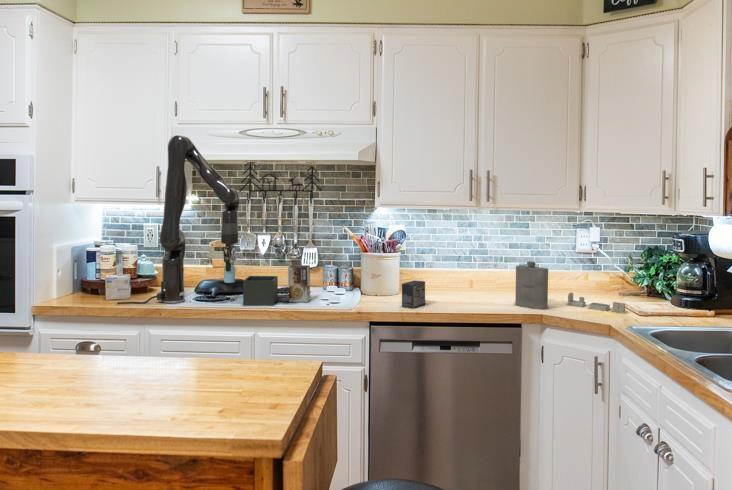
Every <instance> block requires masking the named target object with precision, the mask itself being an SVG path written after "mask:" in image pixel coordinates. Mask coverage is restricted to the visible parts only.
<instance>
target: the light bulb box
mask: <svg viewBox="0 0 732 490" xmlns="http://www.w3.org/2000/svg"><path fill="white" fill-rule="evenodd" d="M131 280H132V279H131V274H130V273H125V274H107V275H106V276H105V277H104V281H105V301H111V300H127V299H131V297H132V282H131Z"/></svg>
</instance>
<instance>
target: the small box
mask: <svg viewBox="0 0 732 490" xmlns="http://www.w3.org/2000/svg"><path fill="white" fill-rule="evenodd" d="M424 305H426V281H424V280H411V281H407V282H404V283H403V282H402V283H401V307H402V308H408V309H416V308H418V307H421V306H424Z"/></svg>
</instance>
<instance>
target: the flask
mask: <svg viewBox="0 0 732 490" xmlns="http://www.w3.org/2000/svg"><path fill="white" fill-rule="evenodd" d="M548 300H549V268H547V267H539V266H536V262H535V261H531V260H529V261H527V262H526V265H521V264H520V265H516V266H515V304H514V305H516V306H519V307H523V308H527V309H528V308H529V309H535V310H547V309H548V307H549V306H548V305H549V303H548V302H549V301H548Z"/></svg>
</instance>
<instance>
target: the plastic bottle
mask: <svg viewBox="0 0 732 490" xmlns="http://www.w3.org/2000/svg"><path fill="white" fill-rule="evenodd" d="M235 282H236V265H234V266H233V260H231V271H226V265H225V266H223V283H226V284H233V283H235Z"/></svg>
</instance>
